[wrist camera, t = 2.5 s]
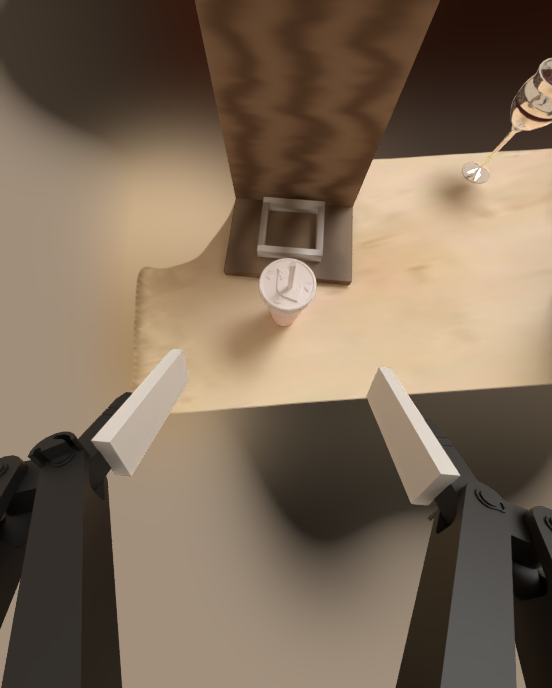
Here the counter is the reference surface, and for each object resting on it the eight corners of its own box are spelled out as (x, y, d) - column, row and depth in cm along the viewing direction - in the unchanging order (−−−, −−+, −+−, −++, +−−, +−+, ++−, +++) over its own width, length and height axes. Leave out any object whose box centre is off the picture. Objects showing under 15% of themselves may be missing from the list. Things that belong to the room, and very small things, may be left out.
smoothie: (273, 341, 31) (271, 302, 17) (257, 304, 32) (243, 241, 18) (311, 324, 31) (339, 275, 18) (294, 289, 33) (307, 217, 19)
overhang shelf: (350, 202, 36) (504, -180, 12) (349, 284, 33) (561, -17, 8) (238, 193, 37) (164, -195, 12) (225, 274, 33) (87, -44, 9)
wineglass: (488, 156, 39) (580, 55, 27) (500, 185, 37) (603, 91, 26) (452, 159, 39) (530, 58, 27) (463, 188, 37) (550, 95, 25)
